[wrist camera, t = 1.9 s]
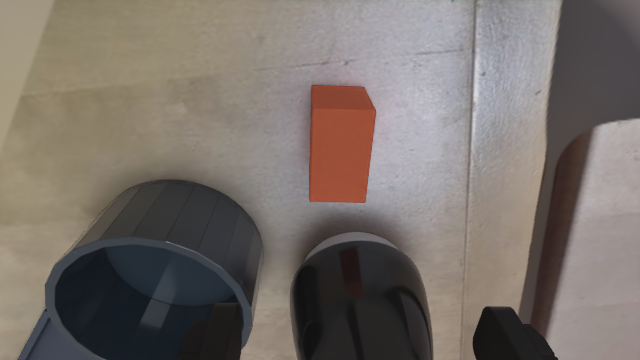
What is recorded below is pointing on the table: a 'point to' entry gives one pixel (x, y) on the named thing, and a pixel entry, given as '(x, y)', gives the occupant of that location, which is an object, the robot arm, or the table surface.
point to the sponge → (340, 143)
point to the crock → (155, 271)
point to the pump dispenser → (359, 302)
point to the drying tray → (49, 343)
